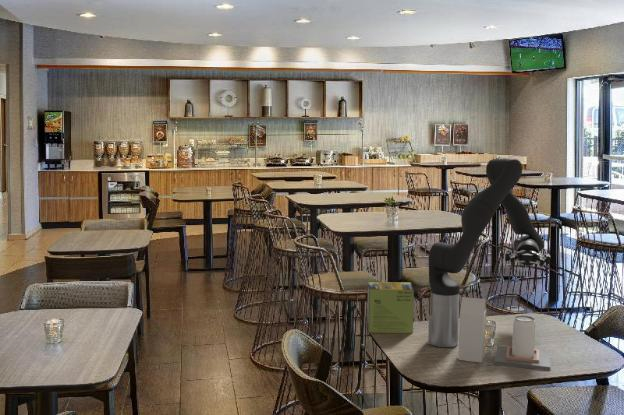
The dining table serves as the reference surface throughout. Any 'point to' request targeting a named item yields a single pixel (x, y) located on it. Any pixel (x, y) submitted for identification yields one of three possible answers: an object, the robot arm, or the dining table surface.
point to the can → (523, 337)
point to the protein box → (390, 307)
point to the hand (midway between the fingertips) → (527, 261)
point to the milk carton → (472, 329)
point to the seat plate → (537, 362)
